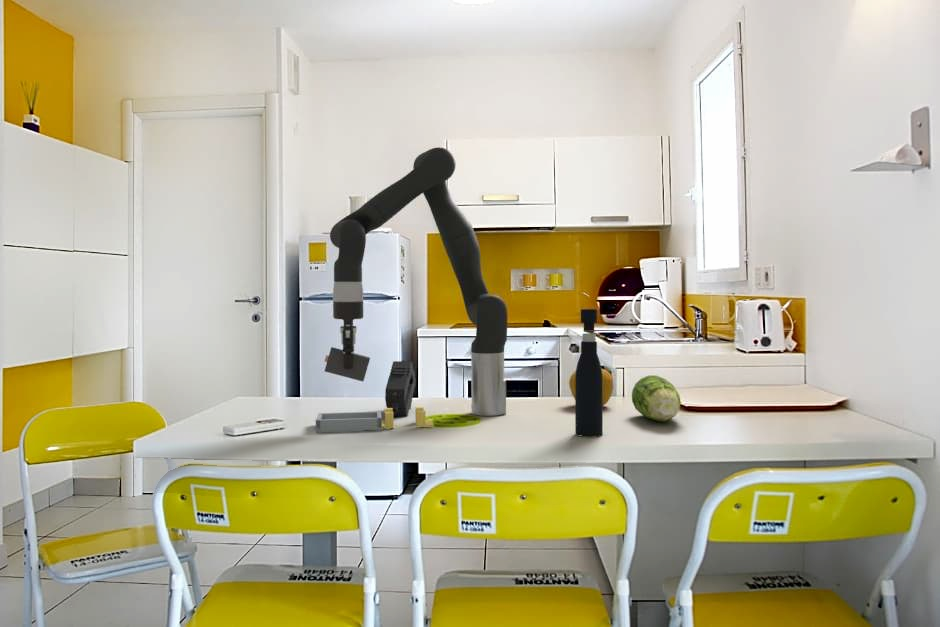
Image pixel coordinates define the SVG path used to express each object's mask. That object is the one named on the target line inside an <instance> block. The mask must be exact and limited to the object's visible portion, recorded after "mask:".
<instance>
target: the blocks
mask: <svg viewBox="0 0 940 627" xmlns="http://www.w3.org/2000/svg"><path fill="white" fill-rule="evenodd" d="M414 415H415V424H416V428H417V429H419V428H418V427H425V428H426V427H432V428H435V424H434V422H433V420H432V419H426V410H424V406H417V407H415V414H414ZM394 418H395V416H393V408H387V407H386V408H384V420H383V421H382V430H391V429H390V428H394V427H395V426H394V425H395V424H394ZM425 425H426V426H425Z"/></svg>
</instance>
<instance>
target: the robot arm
mask: <svg viewBox="0 0 940 627" xmlns="http://www.w3.org/2000/svg"><path fill="white" fill-rule="evenodd" d="M412 165H413V167H412V168H413V169H412V170H411V171H409V172H408V173H407V174H406V175H405V176H403V177H402V178H400V179H398V180H397V181H396V182H394V183H392V184H390V185H389V186H387V187H386V188H384V189H382V190H381V191H380V192H378V193H377V194H376V195H374V196H373V197H371V198H370V199H368V201H365V203H364V204H363V205H362V206H360V207H359V208H358V209H356V210H355V211H353V212H351V213H349V214H348V215H346V216H345V217H343V218H341V219H340V220H339V221H337V223H335V224H334V225H333V226H332V228H330V229H331V230H330V232H329V238H330V241H331V244H332V245H333V246H334V247H336V248H338V255H337V256H338V257H337V259H336V260H335V261H334V264H333V289H332V302H333V303H332V313H333V314H332V317H333V319H334V320H343V325H341V326H340V327H339V328H340V329H339V330H340V332H339V333H340V335H341V342H340V343H341V345H342V350H343V354H344V368H345V369H352V368H353V353H355V344H356V342H357V341H356V337H357V336H356V333H357V325H354V320H361V319H363V318H364V288H363V260H364V256H365V250H366V244H367V243H366V242H367V236H366V235H367V234H369V233H370V232H372V231H375V230H377V229H379V228H381V227H382V226H383V225H384V224H386V223H387V222H388V221H389V220H391V219H392V218H394V216H396V215H397V214H398V213H399V212H401V211H402V210H403V209H404V208H406V207H407V206H408V205H409V204H410V203H412V202H413V201H414V200H415V199H416V198H418V197H419V196H420V195H423V196H424V198H425V201H426V202H427V204H428V206H429V208H430V211H431V215H432V216H433V219H434V222H435V226H436V227H437V230H438V233H439V235H440V239H441V241H442V244H443V247H444V250H445V252H446V254H447V258H448V260H449V262H450V265H451V268H452V270H453V273H454V275H455V278H456V279H457V283H458V285H459V288H460V292H461V294H462V300H463V304H464V306H465V310H466V314H467V317H468V319H469V321H470V323H472V324H473V325H475V326H476V329H475V330H476V332H475V337H474V340H472V342H471V345H470V348H471V350H470V354H471V356H470V359H471V360H470V361H471V362H470V363H471V365H470V366H471V367H470V368H471V371H470V372H471V374H470V375H471V377H470V378H471V379H470V380H471V381H470V382H471V384H470V385H471V388H470V389H471V414H473V415H476V416H482V417H483V416H487V417H488V416H490V417H491V416H499V415H506V414H507V381H506V379H505V345H506V343H507V340H508V338H507V337H508V307H507V304H506V302H505V301H504V299H502V297H500V296H499V295H497V294H496V295H495V294H490V291H488V288H487V285H486V283H485V280H484V278H483V275H482V274H483V273H482V264H481V263H482V262H481V248H480V244H479V241H478V238H477V235H476V233H475V231H474V230H475V229H474V227H473V226H472V225H473V224H472V223H471V221H470V220H469V218H468V217H467V216H466V214H465V213H464V212H463V211H462V210H461V208H460V207H459V206H458V205H457V203H456V202H455V200H454V199H453V197H452V195H451V193H450V192H451V191H450V190H449V186H448V183H447V180H449V179H450V178H451V177H453V175H454V173H455V169H456V159H455V157H454V154H453V153H452V152H451V151H449V149H447V148H445V147H438V146H437V147H433V148H430V149H428V150H426V151H425V152H422V153H420V154H419V155H417V157H415V159H414V162H413V164H412Z"/></svg>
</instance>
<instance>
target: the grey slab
mask: <svg viewBox="0 0 940 627" xmlns="http://www.w3.org/2000/svg"><path fill="white" fill-rule="evenodd" d="M324 358H325V359H324V362H325V363H326V365H325V367H324V368H325V369H324V372H325V373H329V374H333V375H336V376H341V377H344V378H349V379H352V380H356V381H359V382H364V381H365V378H366V374H367V370H368V366H369V364H370V360H371V357H370V356H366V355H363V354H358V353H355V352H354V353H353V368H352V369H345V368H344V354H343V349H341V348H336V347H333V346H331V348H330V350H329V354H328V355H325V357H324Z"/></svg>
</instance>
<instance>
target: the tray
mask: <svg viewBox="0 0 940 627" xmlns="http://www.w3.org/2000/svg"><path fill="white" fill-rule="evenodd" d="M364 430H376V431H383V429H382V412H381V411H379V410H378V411H351V412H350V411H349V412H345V411H344V412H321V413H320V412H319V413H317V417H316V419H315V433H316V432H319V433H340V432H341V433H342V432H347V433H349V432H365V431H364Z"/></svg>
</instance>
